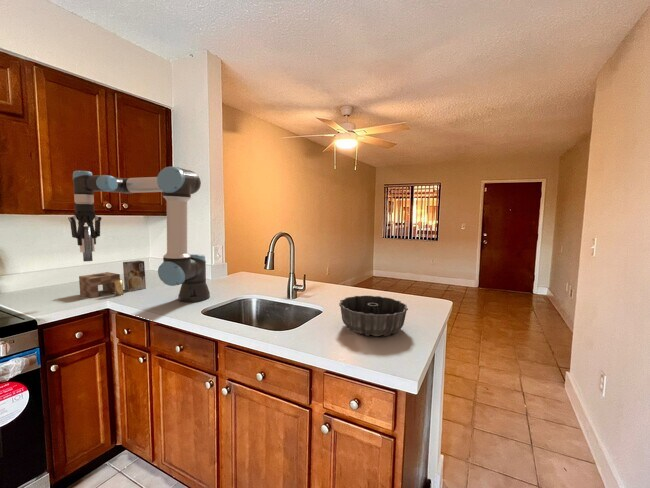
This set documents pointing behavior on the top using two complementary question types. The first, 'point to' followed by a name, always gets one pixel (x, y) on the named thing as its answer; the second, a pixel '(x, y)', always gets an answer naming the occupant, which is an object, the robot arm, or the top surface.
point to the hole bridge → (97, 283)
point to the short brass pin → (118, 287)
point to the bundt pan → (373, 314)
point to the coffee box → (134, 275)
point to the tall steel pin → (87, 244)
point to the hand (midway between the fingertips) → (87, 251)
